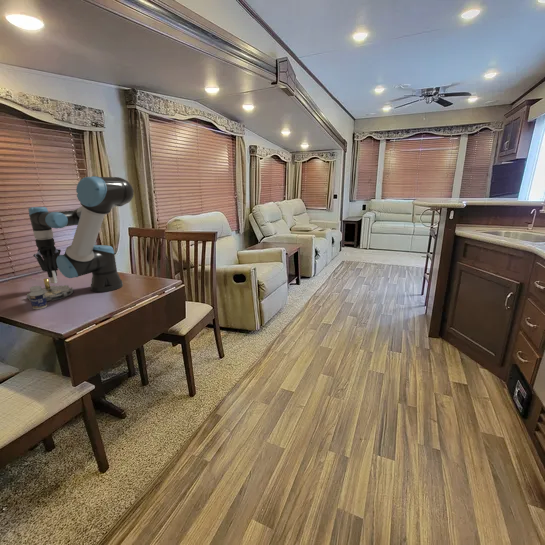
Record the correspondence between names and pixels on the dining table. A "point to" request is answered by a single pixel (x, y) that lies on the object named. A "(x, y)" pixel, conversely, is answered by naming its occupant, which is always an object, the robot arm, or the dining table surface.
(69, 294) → the base plate
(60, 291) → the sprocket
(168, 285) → the dining table surface
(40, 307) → the pill bottle
